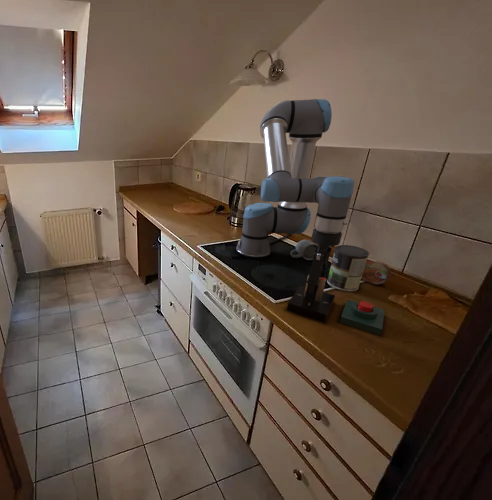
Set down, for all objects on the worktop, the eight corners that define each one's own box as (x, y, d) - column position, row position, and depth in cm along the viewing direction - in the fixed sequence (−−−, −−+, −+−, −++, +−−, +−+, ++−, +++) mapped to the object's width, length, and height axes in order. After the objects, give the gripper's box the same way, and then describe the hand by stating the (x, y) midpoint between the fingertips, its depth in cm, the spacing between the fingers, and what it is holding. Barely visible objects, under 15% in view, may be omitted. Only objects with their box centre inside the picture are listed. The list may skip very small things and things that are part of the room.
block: (345, 305, 100) (348, 294, 98) (382, 315, 94) (386, 305, 92) (339, 322, 91) (342, 311, 90) (380, 335, 86) (384, 324, 84)
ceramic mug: (309, 252, 140) (311, 237, 137) (318, 260, 132) (321, 243, 129) (286, 253, 140) (288, 238, 137) (294, 261, 132) (297, 245, 129)
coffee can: (327, 287, 110) (335, 253, 105) (326, 276, 119) (334, 243, 113) (360, 294, 106) (371, 258, 100) (357, 281, 114) (367, 247, 109)
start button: (358, 304, 94) (359, 299, 93) (372, 308, 91) (373, 303, 91) (356, 309, 91) (358, 305, 90) (371, 314, 89) (372, 309, 88)
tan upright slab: (303, 297, 99) (307, 275, 96) (304, 295, 101) (309, 273, 97) (320, 302, 96) (325, 280, 93) (321, 300, 98) (326, 278, 94)
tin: (343, 271, 121) (348, 252, 118) (348, 270, 123) (353, 251, 119) (383, 288, 109) (390, 267, 105) (388, 286, 110) (395, 266, 107)
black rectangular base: (298, 292, 108) (299, 285, 107) (333, 302, 101) (335, 294, 100) (286, 310, 98) (288, 302, 97) (324, 323, 91) (326, 314, 90)
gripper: (335, 243, 79) (318, 314, 88) (348, 222, 95) (332, 284, 103) (304, 238, 84) (291, 305, 92) (321, 218, 99) (308, 278, 108)
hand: (313, 294), depth 98 cm, fingers open, 9 cm apart
